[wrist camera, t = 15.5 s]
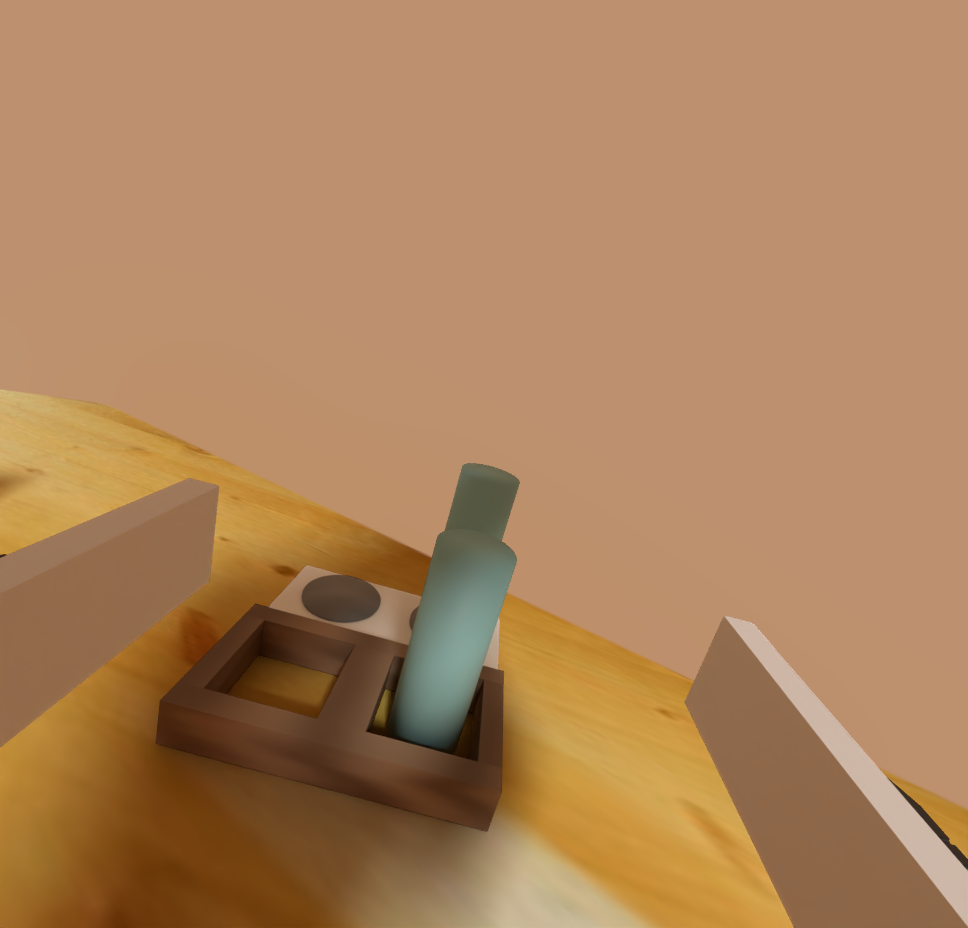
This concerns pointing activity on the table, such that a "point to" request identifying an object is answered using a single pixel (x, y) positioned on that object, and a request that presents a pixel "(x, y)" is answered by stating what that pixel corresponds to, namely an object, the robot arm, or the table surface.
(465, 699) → the teal pin
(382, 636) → the pattern plate
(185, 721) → the brown wooden peg holder
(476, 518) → the pin
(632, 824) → the table surface
